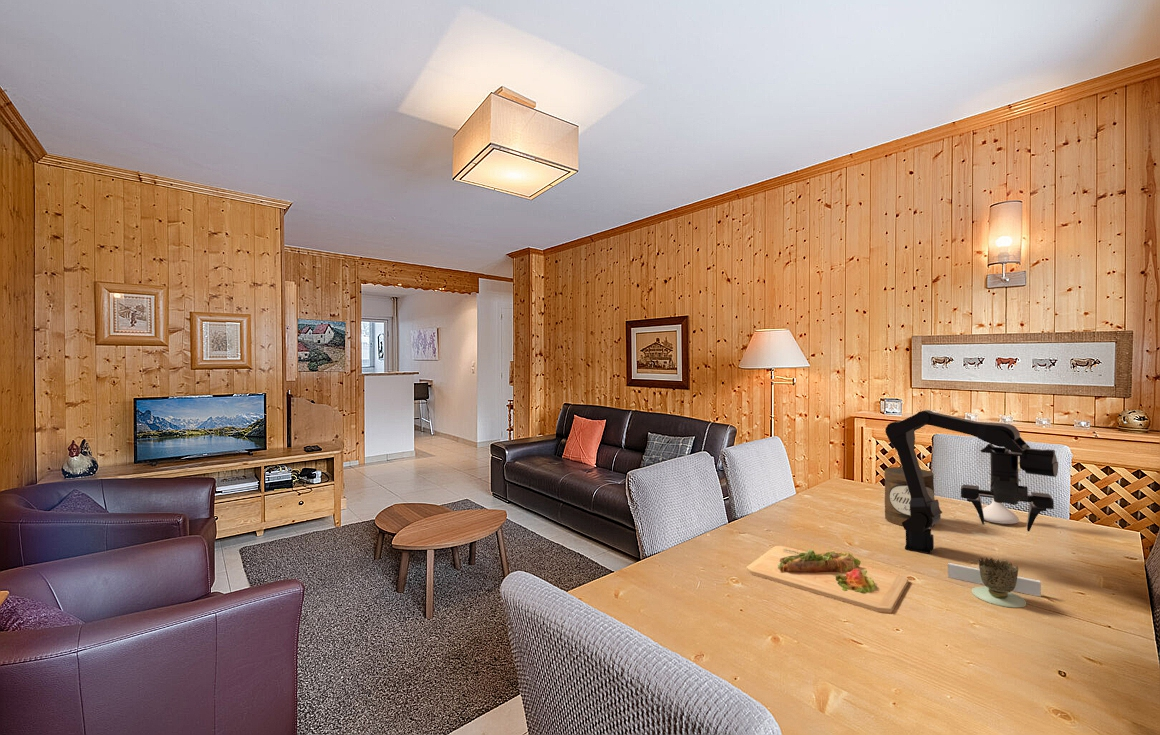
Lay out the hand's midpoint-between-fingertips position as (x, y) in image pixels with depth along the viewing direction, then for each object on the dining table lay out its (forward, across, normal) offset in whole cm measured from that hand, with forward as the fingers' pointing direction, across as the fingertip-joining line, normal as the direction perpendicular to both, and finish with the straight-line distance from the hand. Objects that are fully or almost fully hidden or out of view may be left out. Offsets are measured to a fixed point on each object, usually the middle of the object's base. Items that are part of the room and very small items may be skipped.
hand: (1005, 527), depth 131 cm
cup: (+12, -2, -20) cm, 23 cm away
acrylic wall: (+12, -3, -13) cm, 18 cm away
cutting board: (+13, -38, -32) cm, 52 cm away
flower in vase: (+12, 0, +50) cm, 51 cm away
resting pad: (+12, -2, -20) cm, 23 cm away
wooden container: (+12, -25, +33) cm, 43 cm away
